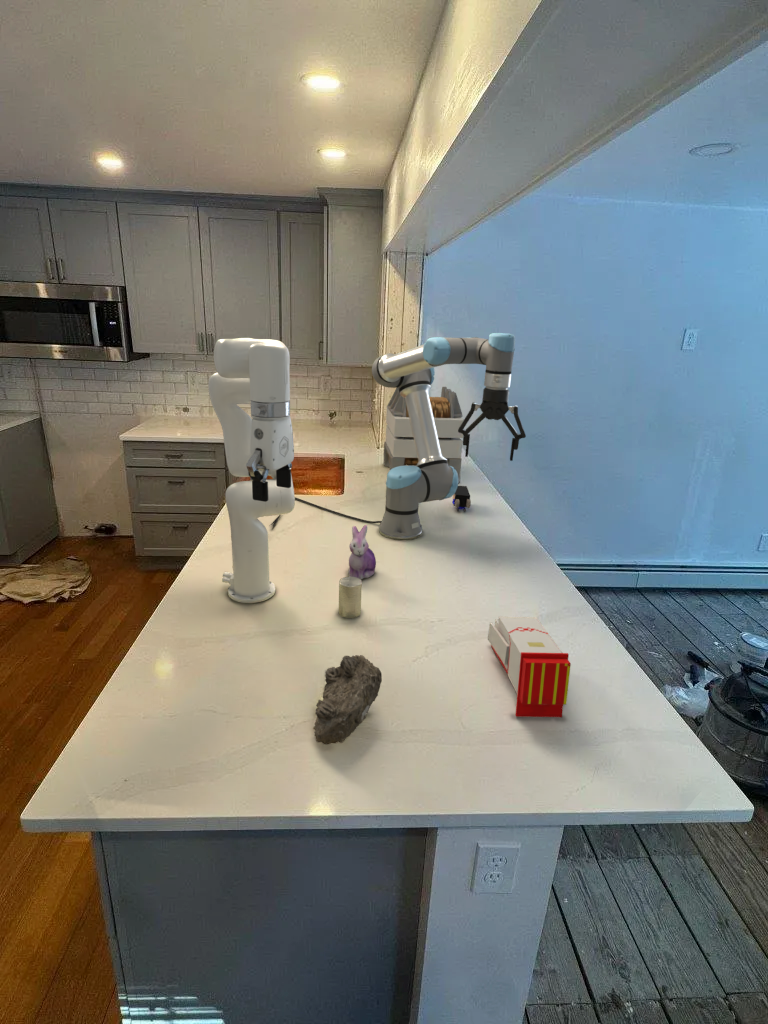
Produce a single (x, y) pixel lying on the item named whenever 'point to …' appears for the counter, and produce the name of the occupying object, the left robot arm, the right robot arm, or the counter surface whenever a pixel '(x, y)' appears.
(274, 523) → the feather
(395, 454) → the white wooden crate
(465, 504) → the figurine character
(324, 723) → the fossil
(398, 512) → the right robot arm
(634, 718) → the counter surface
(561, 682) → the toy
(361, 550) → the figurine
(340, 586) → the can
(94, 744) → the counter surface
